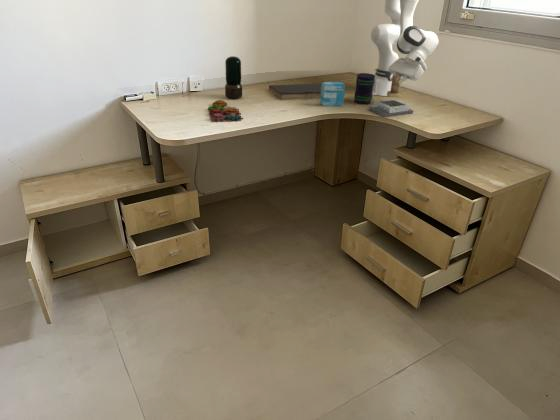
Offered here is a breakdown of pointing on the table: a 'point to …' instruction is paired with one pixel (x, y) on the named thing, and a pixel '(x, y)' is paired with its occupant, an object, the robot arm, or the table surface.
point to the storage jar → (364, 88)
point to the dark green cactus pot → (233, 78)
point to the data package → (332, 93)
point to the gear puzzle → (223, 112)
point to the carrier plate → (390, 108)
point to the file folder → (296, 91)
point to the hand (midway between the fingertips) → (394, 82)
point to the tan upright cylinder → (394, 87)
